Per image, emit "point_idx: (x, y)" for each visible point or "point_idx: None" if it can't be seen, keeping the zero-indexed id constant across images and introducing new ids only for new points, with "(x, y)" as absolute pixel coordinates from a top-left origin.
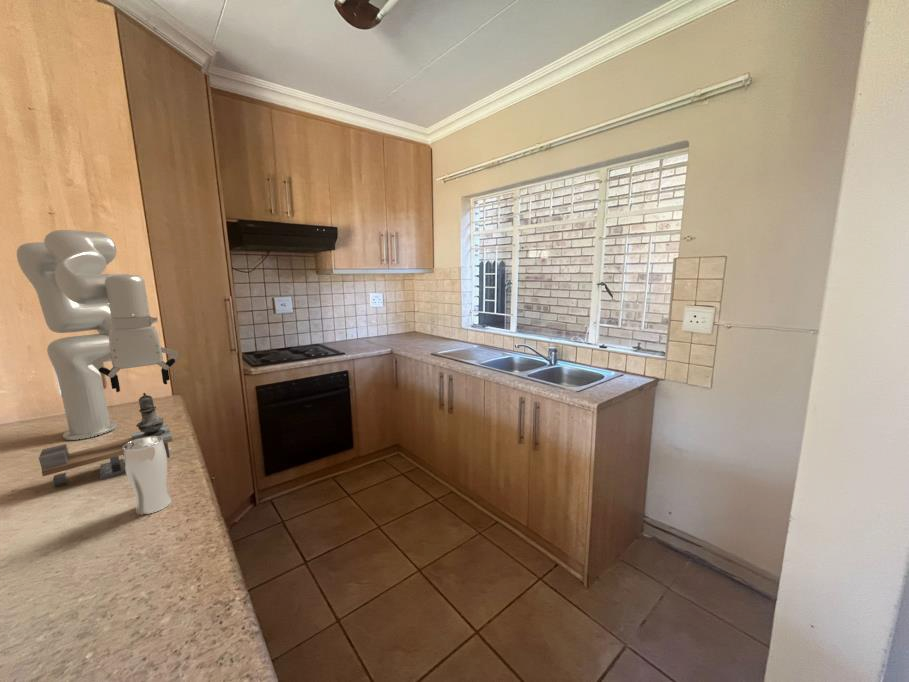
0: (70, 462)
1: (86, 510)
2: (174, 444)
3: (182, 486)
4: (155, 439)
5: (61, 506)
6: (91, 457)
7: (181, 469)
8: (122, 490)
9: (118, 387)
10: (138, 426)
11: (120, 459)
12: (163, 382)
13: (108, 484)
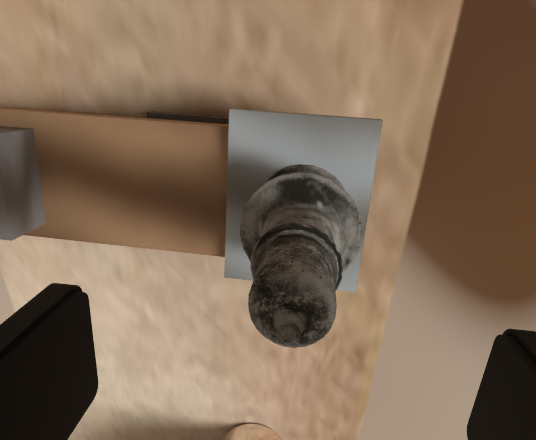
0: (54, 222)
1: (141, 362)
2: (382, 72)
3: (317, 412)
4: None
5: (91, 302)
6: (108, 234)
7: (340, 320)
8: (204, 326)
9: (67, 428)
10: (246, 253)
11: (201, 116)
12: (481, 406)
13: (175, 262)
